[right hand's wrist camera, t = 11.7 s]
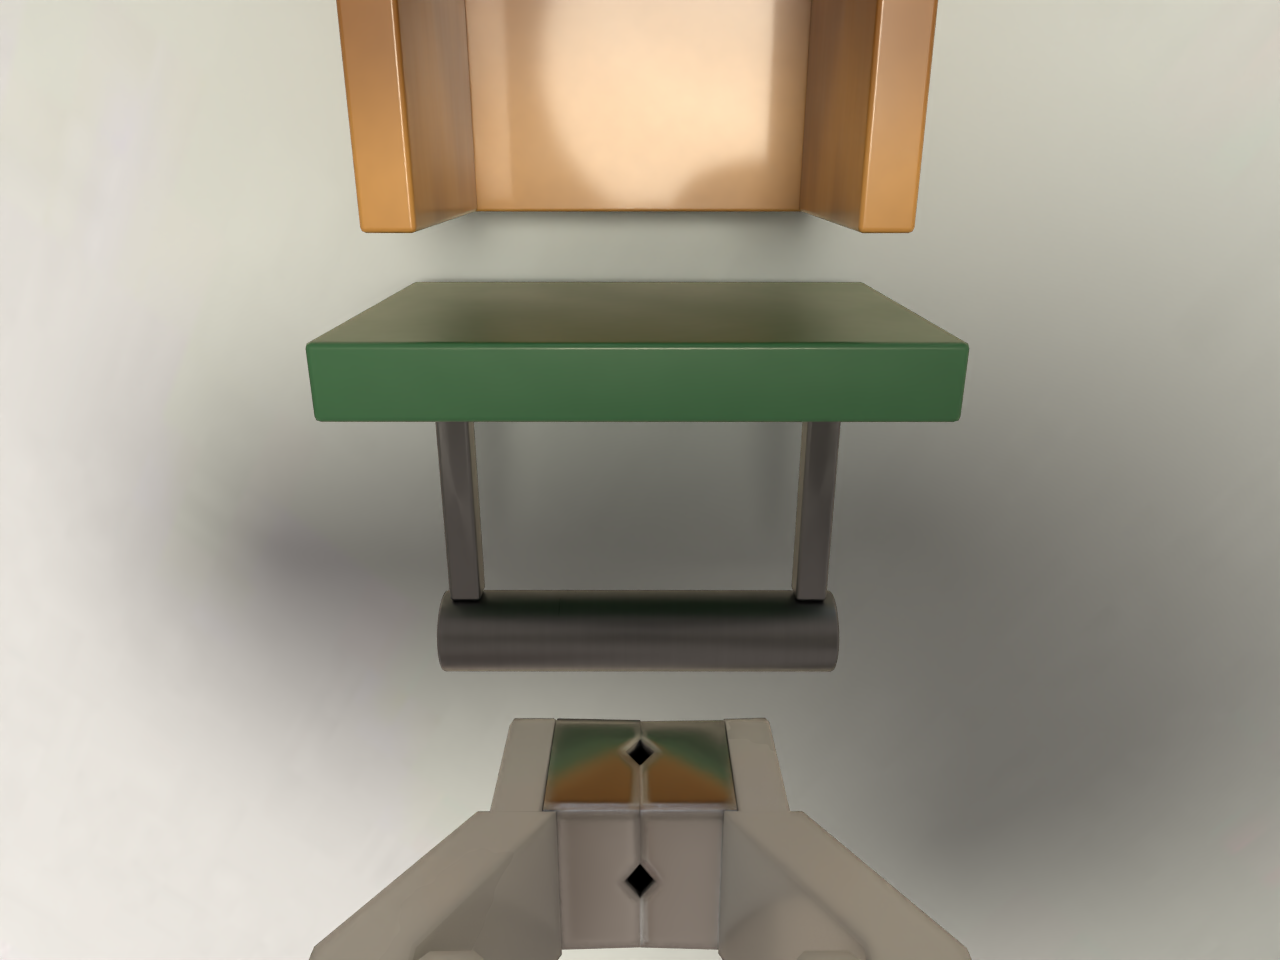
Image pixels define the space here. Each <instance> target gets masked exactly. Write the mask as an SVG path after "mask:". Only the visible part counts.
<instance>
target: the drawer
mask: <svg viewBox="0 0 1280 960" xmlns="http://www.w3.org/2000/svg"><path fill="white" fill-rule="evenodd" d="M336 3H337V13H338V22H339V32H340V41H341V51H342V60H343V69H344V79H345V88H346V98H347V107H348V117H349V126H350V135H351V145H352V154H353V164H354V173H355V183H356V192H357V201H358V211H359V220H360V228H361V230H362V231H363V232H365V233H413V232H416V231H419V230H422V229H425V228H428V227H431V226H434V225H437V224H439V223H442V222H445V221H448V220H451V219H454V218H457V217H460V216H463V215H466V214H469V213H472V212H474V211H494V212H805V213H808V214H810V215H813V216H816V217H819V218H822V219H825V220H827V221H830V222H833V223H836V224H839V225H842V226H844V227H847V228H850V229H853V230H856V231H859V232H861V233H910V232H912V231H913V229H914V227H915V218H916V208H917V198H918V189H919V179H920V170H921V160H922V150H923V141H924V131H925V122H926V112H927V102H928V93H929V83H930V74H931V64H932V54H933V45H934V35H935V26H936V16H937V6H938V0H336ZM968 354H969V346H968V344H967V343H966V342H964V341H962V340H961V339H959V338H957V337H955V336H954V335H952V334H950V333H948V332H947V331H945V330H943V329H942V328H940V327H938V326H936V325H935V324H933V323H931V322H929V321H928V320H926V319H924V318H923V317H921V316H919V315H917V314H916V313H914V312H912V311H910V310H909V309H907V308H905V307H904V306H902V305H900V304H898V303H897V302H895V301H893V300H891V299H890V298H888V297H886V296H885V295H883V294H881V293H879V292H878V291H876V290H874V289H872V288H871V287H869V286H867V285H866V284H864V283H861V282H415V283H413V284H411V285H410V286H408V287H406V288H404V289H402V290H401V291H399V292H397V293H395V294H394V295H392V296H390V297H388V298H387V299H385V300H383V301H381V302H380V303H378V304H376V305H374V306H372V307H371V308H369V309H367V310H365V311H364V312H362V313H360V314H358V315H357V316H355V317H353V318H351V319H349V320H348V321H346V322H344V323H342V324H341V325H339V326H337V327H335V328H334V329H332V330H330V331H328V332H327V333H325V334H323V335H321V336H319V337H318V338H316V339H314V340H312V341H311V342H309V343H307V345H306V355H307V363H308V370H309V378H310V385H311V393H312V400H313V408H314V415H315V418H316V420H318V421H321V422H436V434H437V446H438V457H439V469H440V481H441V493H442V505H443V517H444V529H445V541H446V553H447V565H448V577H449V589H450V590H448V591H446V592H445V593H444V595H443V598H442V601H441V604H440V609H439V615H438V625H437V649H438V657H439V662H440V665H441V667H442V669H443V670H444V671H833V670H834V668H835V666H836V663H837V659H838V652H839V622H838V613H837V607H836V603H835V600H834V597H833V595H832V593H831V592H830V591H828V590H827V581H828V569H829V557H830V544H831V532H832V520H833V508H834V496H835V484H836V471H837V459H838V447H839V435H840V423H841V422H954V421H958V420H959V418H960V415H961V408H962V400H963V393H964V385H965V377H966V370H967V362H968ZM474 422H802V437H801V452H800V467H799V482H798V497H797V512H796V527H795V542H794V557H793V572H792V589H793V590H484V587H485V580H484V565H483V551H482V536H481V521H480V507H479V492H478V477H477V463H476V448H475V433H474Z"/></svg>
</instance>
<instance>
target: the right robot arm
mask: <svg viewBox="0 0 1280 960" xmlns="http://www.w3.org/2000/svg"><path fill="white" fill-rule="evenodd" d="M631 947H647V948H682V949H717V950H718V954H719V955H720V956H721V958H722V959H723V960H971V957H970V955H969V952H968V950H967V948H966V947H965V946H964V945H962V944H961V943H960V942H959V941H958V940H956V939H955V938H954V937H953V936H952V935H950V934H949V933H948V932H947V931H946V930H944V929H943V928H942V927H941V926H940V925H938V924H937V923H936V922H935V921H934V920H932V919H931V918H930V917H929V916H928V915H926V914H925V913H924V912H923V911H922V910H920V909H919V908H918V907H917V906H916V905H914V904H913V903H912V902H911V901H910V900H908V899H907V898H906V897H905V896H904V895H902V894H901V893H900V892H899V891H898V890H896V889H895V888H894V887H893V886H892V885H890V884H889V883H888V882H887V881H886V880H884V879H883V878H882V877H881V876H880V875H878V874H877V873H876V872H875V871H874V870H872V869H871V868H870V867H869V866H868V865H866V864H865V863H864V862H863V861H862V860H860V859H859V858H858V857H857V856H856V855H854V854H853V853H852V852H851V851H850V850H848V849H847V848H846V847H845V846H844V845H842V844H841V843H840V842H839V841H838V840H836V839H835V838H834V837H833V836H832V835H830V834H829V833H828V832H827V831H826V830H824V829H823V828H822V827H821V826H820V825H818V824H817V823H816V822H815V821H813V820H812V819H811V818H810V817H809V816H807V815H806V814H805V813H804V812H802V811H790V809H789V805H788V801H787V796H786V792H785V788H784V784H783V779H782V775H781V771H780V766H779V762H778V758H777V754H776V749H775V745H774V741H773V736H772V732H771V728H770V724H769V722H768V721H767V720H766V718H743V719H724V720H701V721H640V720H604V719H557V721H556V720H555V719H554V718H515V719H514V720H513V722H512V723H511V724H510V727H509V731H508V736H507V740H506V744H505V749H504V753H503V757H502V762H501V766H500V770H499V775H498V779H497V783H496V788H495V792H494V796H493V801H492V805H491V809H490V811H478V812H476V813H475V814H474V815H473V816H471V817H470V818H469V819H468V820H467V821H465V822H464V823H463V824H462V825H461V826H459V827H458V828H457V829H456V830H454V831H453V832H452V833H451V834H450V835H448V836H447V837H446V838H445V839H444V840H442V841H441V842H440V843H439V844H438V845H436V846H435V847H434V848H433V849H432V850H430V851H429V852H428V853H427V854H426V855H424V856H423V857H422V858H421V859H419V860H418V861H417V862H416V863H415V864H413V865H412V866H411V867H410V868H409V869H407V870H406V871H405V872H404V873H403V874H401V875H400V876H399V877H398V878H397V879H395V880H394V881H393V882H392V883H391V884H389V885H388V886H387V887H386V888H385V889H383V890H382V891H381V892H380V893H378V894H377V895H376V896H375V897H374V898H372V899H371V900H370V901H369V902H368V903H366V904H365V905H364V906H363V907H362V908H360V909H359V910H358V911H357V912H356V913H354V914H353V915H352V916H351V917H350V918H348V919H347V920H346V921H345V922H344V923H342V924H341V925H340V926H339V927H337V928H336V929H335V930H334V931H333V932H331V933H330V934H329V935H328V936H327V937H325V938H324V939H323V940H322V941H321V942H319V943H318V944H317V945H316V946H315V947H314V949H313V951H312V953H311V956H310V958H309V960H558V959H559V957H560V956H561V955H562V950H563V949H597V948H631Z"/></svg>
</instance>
